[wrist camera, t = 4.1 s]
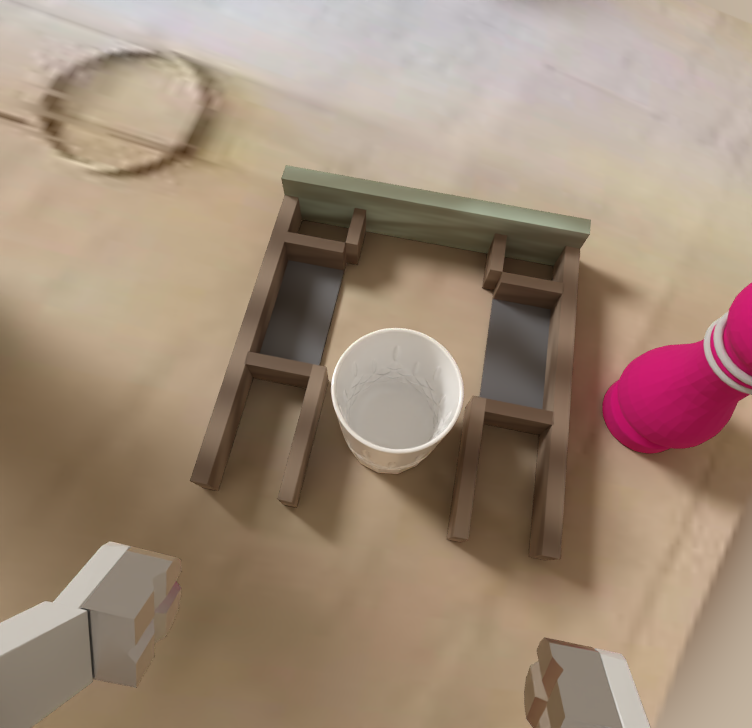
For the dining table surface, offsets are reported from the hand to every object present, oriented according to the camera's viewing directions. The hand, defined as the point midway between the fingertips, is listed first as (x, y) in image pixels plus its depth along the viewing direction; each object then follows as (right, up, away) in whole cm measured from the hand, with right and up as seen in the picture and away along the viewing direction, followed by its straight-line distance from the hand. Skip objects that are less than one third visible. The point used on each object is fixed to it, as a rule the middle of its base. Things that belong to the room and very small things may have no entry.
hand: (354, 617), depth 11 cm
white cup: (+1, 0, +30) cm, 30 cm away
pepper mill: (+21, +1, +31) cm, 38 cm away
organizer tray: (+3, +5, +32) cm, 32 cm away
